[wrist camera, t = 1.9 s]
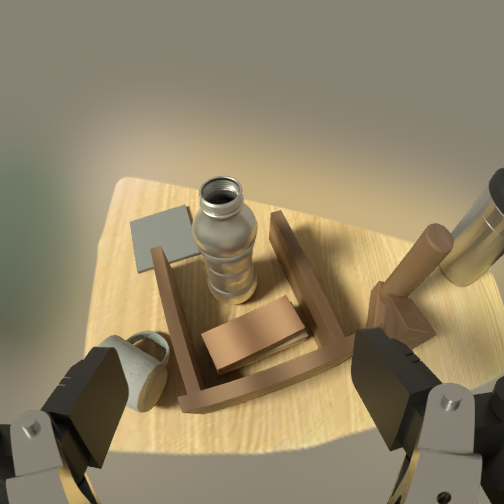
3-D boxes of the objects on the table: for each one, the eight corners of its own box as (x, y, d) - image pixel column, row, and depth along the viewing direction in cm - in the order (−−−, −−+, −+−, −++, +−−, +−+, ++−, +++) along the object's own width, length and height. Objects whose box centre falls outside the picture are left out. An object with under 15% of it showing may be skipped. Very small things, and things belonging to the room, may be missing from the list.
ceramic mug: (154, 417, 33) (133, 415, 26) (104, 389, 34) (77, 379, 28) (186, 348, 38) (173, 331, 32) (136, 325, 40) (115, 304, 33)
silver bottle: (260, 306, 41) (266, 214, 24) (211, 312, 41) (181, 224, 24) (253, 265, 44) (254, 161, 27) (207, 271, 44) (182, 170, 27)
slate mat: (185, 206, 50) (185, 204, 50) (200, 254, 45) (199, 252, 45) (131, 224, 48) (130, 222, 48) (138, 273, 44) (137, 271, 43)
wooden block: (359, 360, 37) (426, 315, 21) (370, 290, 42) (424, 216, 27) (383, 365, 36) (459, 322, 21) (391, 296, 42) (452, 226, 26)
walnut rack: (277, 236, 47) (284, 182, 37) (338, 364, 37) (370, 342, 26) (162, 271, 44) (137, 224, 34) (203, 414, 33) (182, 412, 23)
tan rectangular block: (288, 309, 41) (293, 291, 36) (305, 343, 38) (313, 330, 33) (206, 340, 39) (198, 328, 34) (220, 377, 36) (214, 370, 31)
